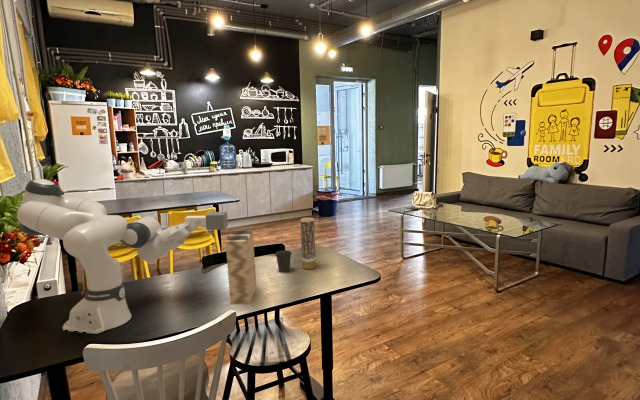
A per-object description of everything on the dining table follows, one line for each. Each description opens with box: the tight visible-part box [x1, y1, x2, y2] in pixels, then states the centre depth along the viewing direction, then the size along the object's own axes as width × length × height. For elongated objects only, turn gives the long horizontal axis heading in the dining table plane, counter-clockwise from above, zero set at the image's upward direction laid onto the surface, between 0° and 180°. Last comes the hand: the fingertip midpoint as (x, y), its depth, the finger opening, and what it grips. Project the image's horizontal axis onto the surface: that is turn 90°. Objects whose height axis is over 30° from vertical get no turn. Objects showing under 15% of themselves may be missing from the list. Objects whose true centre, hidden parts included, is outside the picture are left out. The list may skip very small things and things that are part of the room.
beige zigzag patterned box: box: [225, 229, 257, 304], centre depth 160 cm, size 8×14×28 cm, turn 179°
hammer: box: [184, 211, 229, 231], centre depth 156 cm, size 16×6×6 cm, turn 89°
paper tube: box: [300, 217, 317, 270], centre depth 191 cm, size 7×7×25 cm
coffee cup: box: [275, 249, 292, 274], centre depth 188 cm, size 8×8×10 cm
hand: (201, 219), depth 156 cm, fingers closed on hammer, 4 cm apart
